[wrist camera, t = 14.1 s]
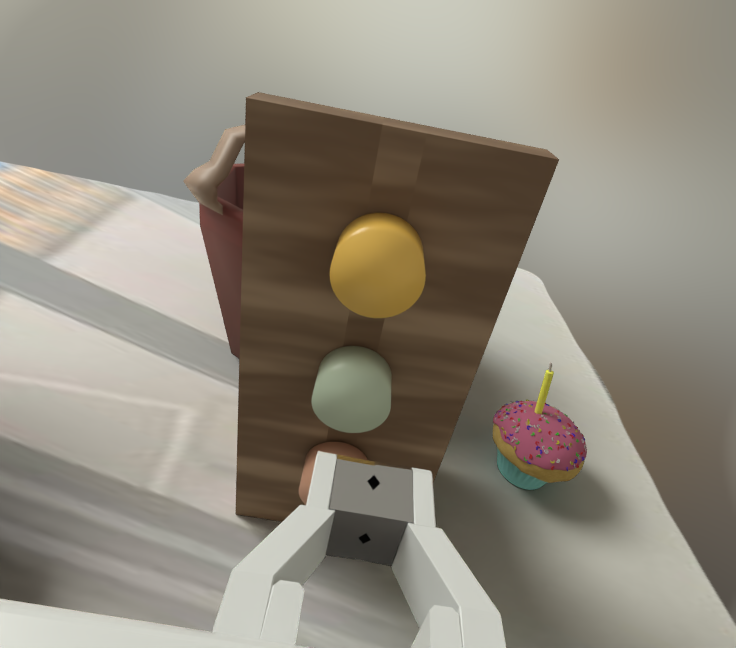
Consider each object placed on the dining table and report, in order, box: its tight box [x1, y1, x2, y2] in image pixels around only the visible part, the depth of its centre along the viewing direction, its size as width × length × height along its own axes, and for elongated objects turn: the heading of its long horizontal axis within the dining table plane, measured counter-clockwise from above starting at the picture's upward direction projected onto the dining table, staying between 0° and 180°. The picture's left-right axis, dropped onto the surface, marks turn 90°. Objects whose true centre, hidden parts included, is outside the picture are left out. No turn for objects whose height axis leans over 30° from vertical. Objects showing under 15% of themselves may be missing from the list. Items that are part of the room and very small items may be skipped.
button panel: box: [236, 92, 559, 522], centre depth 32 cm, size 9×14×30 cm, turn 87°
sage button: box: [312, 346, 392, 433], centre depth 28 cm, size 6×4×4 cm
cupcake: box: [493, 362, 587, 490], centre depth 42 cm, size 9×8×12 cm
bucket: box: [184, 125, 245, 359], centre depth 50 cm, size 24×22×25 cm
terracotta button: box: [299, 442, 367, 505], centre depth 32 cm, size 6×4×4 cm
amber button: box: [330, 213, 426, 318], centre depth 24 cm, size 6×4×4 cm
